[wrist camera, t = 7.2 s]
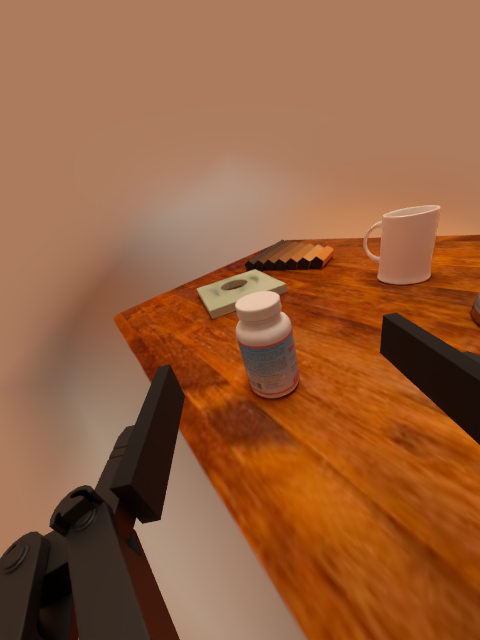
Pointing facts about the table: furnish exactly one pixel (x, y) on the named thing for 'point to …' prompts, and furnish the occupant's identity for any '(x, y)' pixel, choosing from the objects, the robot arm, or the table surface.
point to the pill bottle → (266, 344)
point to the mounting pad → (236, 291)
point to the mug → (406, 244)
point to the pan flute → (291, 257)
